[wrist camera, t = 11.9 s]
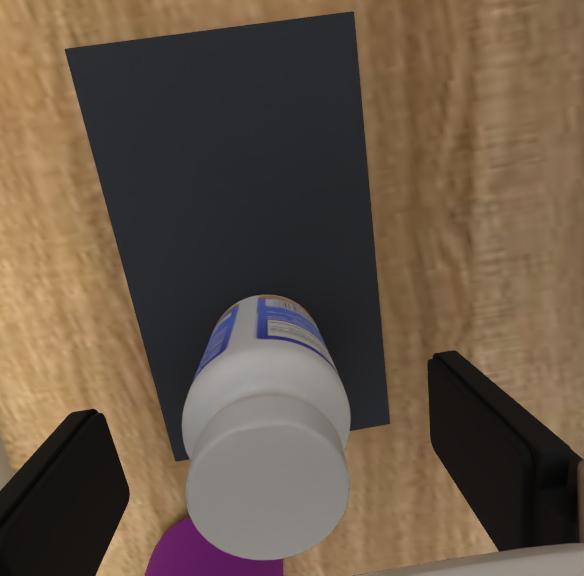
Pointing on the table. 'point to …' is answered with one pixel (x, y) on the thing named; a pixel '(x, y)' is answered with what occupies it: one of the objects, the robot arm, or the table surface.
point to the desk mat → (239, 191)
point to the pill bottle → (266, 433)
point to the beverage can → (202, 557)
